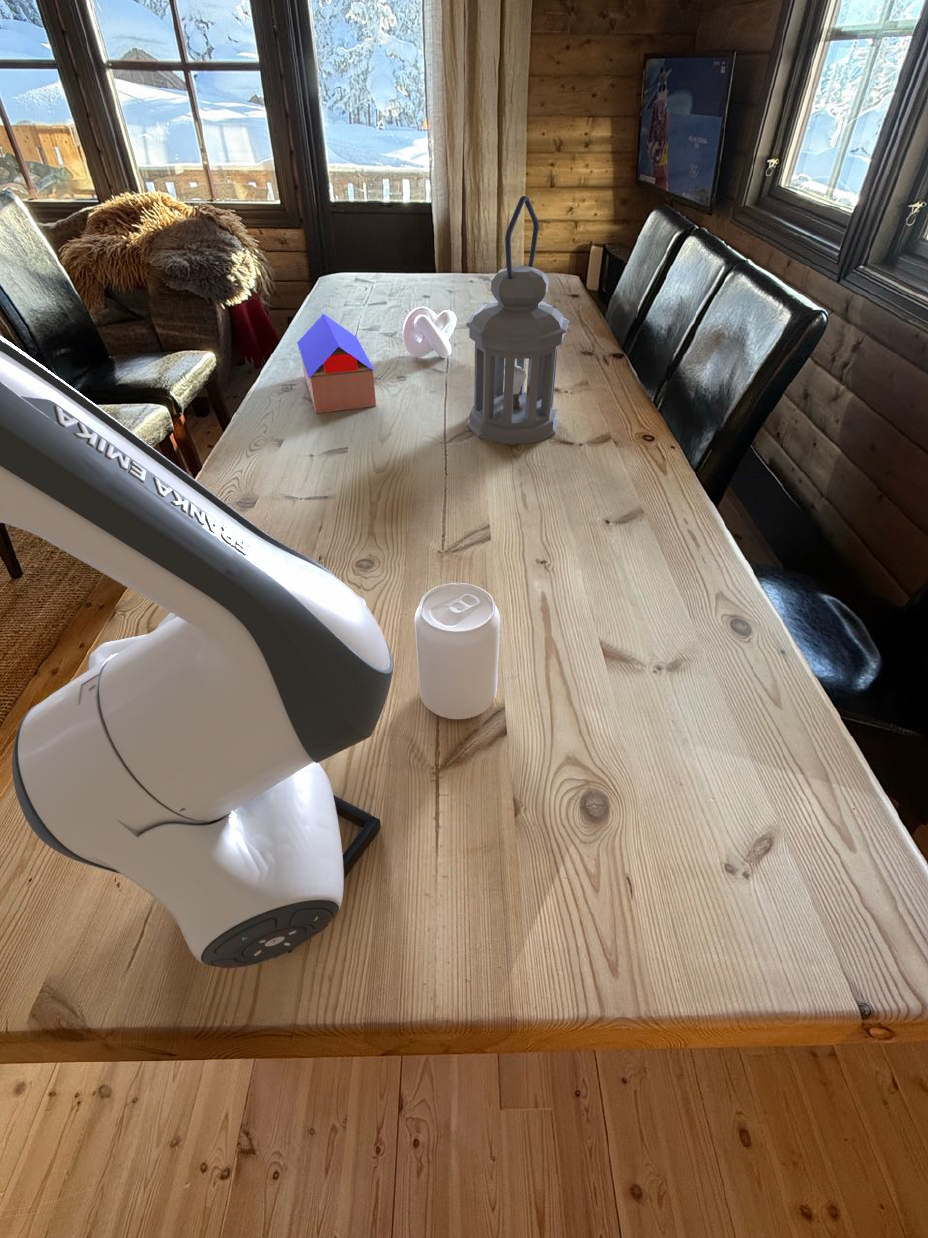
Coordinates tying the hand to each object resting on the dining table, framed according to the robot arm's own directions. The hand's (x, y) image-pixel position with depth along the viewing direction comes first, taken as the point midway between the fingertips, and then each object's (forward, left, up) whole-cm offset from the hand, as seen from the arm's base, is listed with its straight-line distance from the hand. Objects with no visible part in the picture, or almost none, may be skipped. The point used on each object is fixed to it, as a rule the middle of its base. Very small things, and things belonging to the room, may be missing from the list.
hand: (233, 596), depth 55 cm
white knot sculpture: (+98, +41, -17) cm, 108 cm away
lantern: (+75, +10, -17) cm, 78 cm away
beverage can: (+13, -14, -17) cm, 26 cm away
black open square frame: (-10, -10, -17) cm, 22 cm away
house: (+72, +47, -17) cm, 88 cm away
